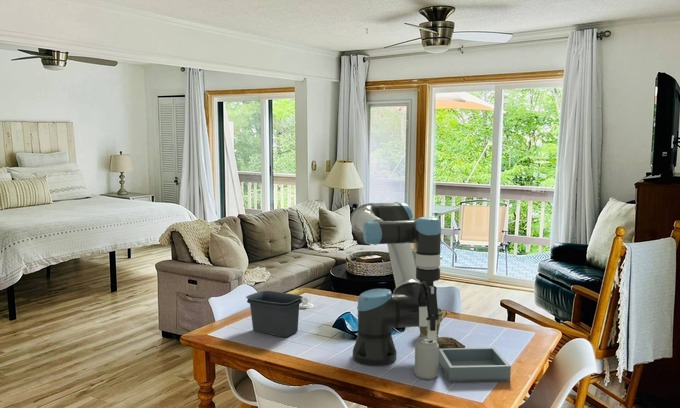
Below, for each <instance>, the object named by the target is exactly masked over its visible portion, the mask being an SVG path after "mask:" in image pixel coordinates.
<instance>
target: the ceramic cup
mask: <svg viewBox="0 0 680 408" xmlns="http://www.w3.org/2000/svg"><path fill="white" fill-rule="evenodd" d="M444 312H445V314H444V316H443V313H444ZM447 316H448V311H447V310H446V309H442V308H439V307H438V317H439V319H438V320H437V337H439V331H440V326H441V323H442V321H443V320H444V319H445V318H446V317H447ZM418 328H419V333H420V334H419V335H420V337H427V326H422V327H418Z"/></svg>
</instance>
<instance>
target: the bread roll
mask: <svg viewBox="0 0 680 408" xmlns="http://www.w3.org/2000/svg"><path fill="white" fill-rule="evenodd" d="M437 343H438V344H439V349H447V348H466V345H464V344H463V343H461V342H460V341H458V340H457V339H456V338H453V337H449V336H443V337H439V336H437Z"/></svg>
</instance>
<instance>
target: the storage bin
mask: <svg viewBox="0 0 680 408" xmlns="http://www.w3.org/2000/svg"><path fill="white" fill-rule="evenodd" d="M303 297H304V296H302V295H299V294H293V293H287V292H286V293H285V292H280V291H273V290H260V291H257V292H255V293H251V294H249V295H246V296H245V298H246V299H247V301H246V302H247V304H249V307H250V313H251V314H250V316H251V324H252V330H253V331H254V332H256V333H262V334H268V335H273V336H277V337H283V338H287V337H289V336H291V335H293V334H295V333H297V332H298V330H299V315H300V308H299V307H300V305H299V304H301V303H302V298H303ZM301 305H302V304H301Z"/></svg>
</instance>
